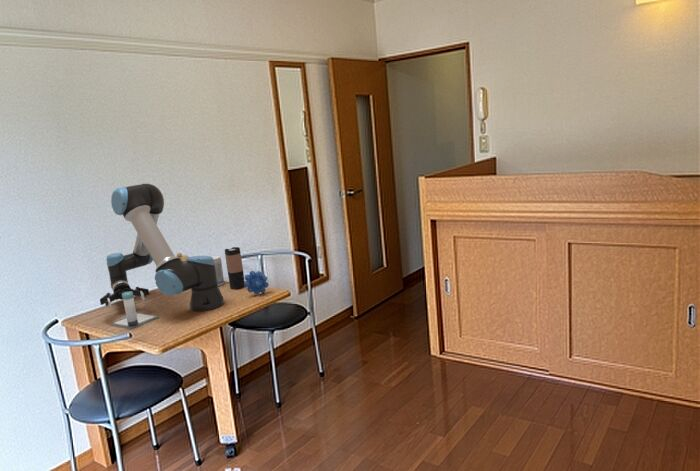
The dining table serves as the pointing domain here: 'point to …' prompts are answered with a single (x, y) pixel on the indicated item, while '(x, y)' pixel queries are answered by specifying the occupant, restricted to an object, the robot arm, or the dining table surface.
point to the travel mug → (234, 268)
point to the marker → (130, 308)
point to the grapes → (256, 282)
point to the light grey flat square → (140, 317)
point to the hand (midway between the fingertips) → (126, 301)
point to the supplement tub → (218, 270)
